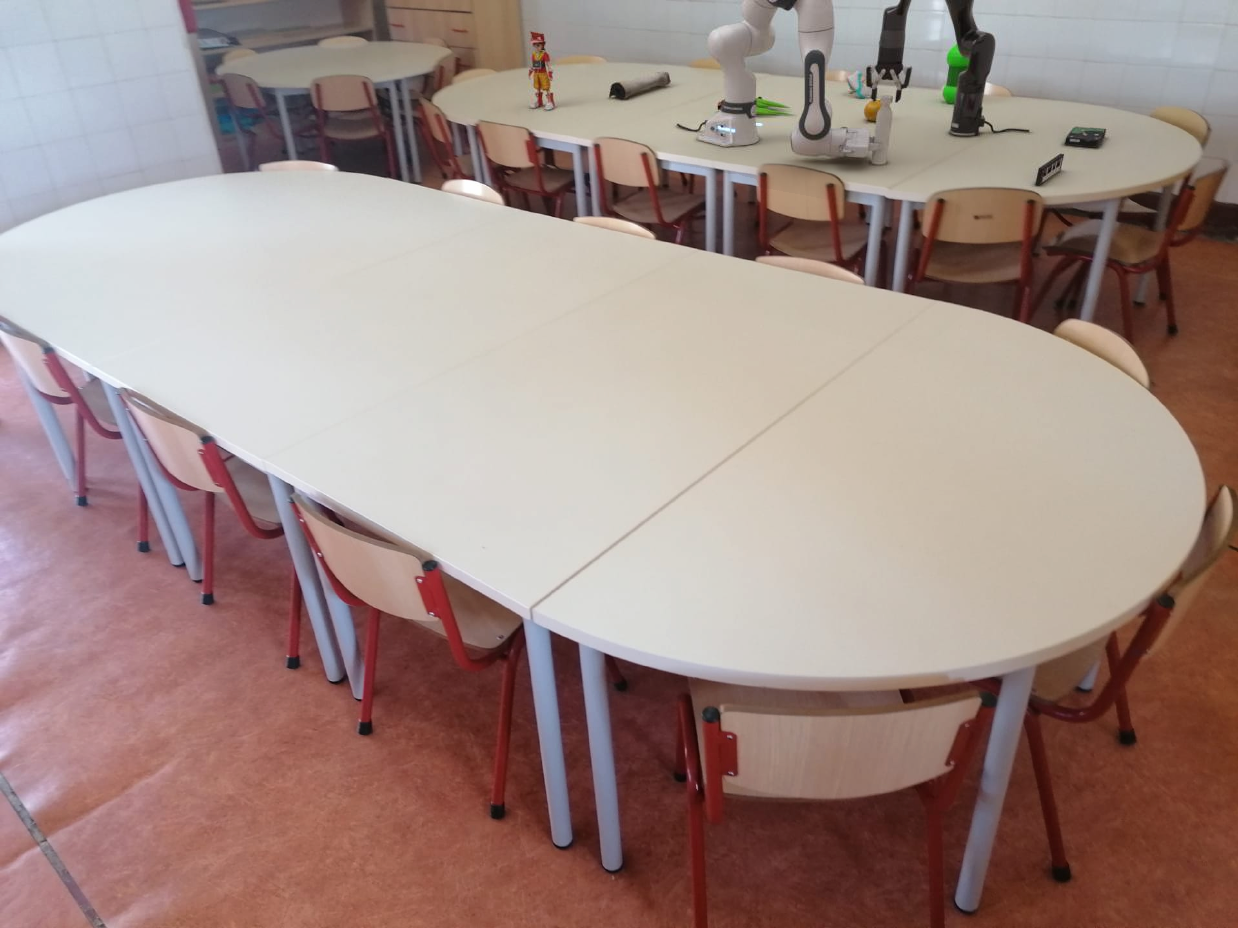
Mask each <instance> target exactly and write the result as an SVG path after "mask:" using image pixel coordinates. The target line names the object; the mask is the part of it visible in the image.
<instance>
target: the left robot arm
mask: <svg viewBox="0 0 1238 928" xmlns="http://www.w3.org/2000/svg"><path fill="white" fill-rule="evenodd" d="M778 8H779V9H782V10H784V11H786V12H789V11H791V10H792V9H794V10H795V12H796V14H797V36H798V45H799V52H800V57H801V58H800V59H801V62H802V68H803V75H804V105H803V106H804V107H803V110H802V113H801V116H800V117H799V120H798V122H797V124H796V125H795V127H794V128H793V130H791V132H790V148H791V151H792V152H793V153H794V154H795V155H797V156H800V157H801V156H802V157H814V158H815V157H817V158H818V157H823V156H824V157H828V158H845V156H846V157H851V158H867V157H868V156H869V152H872V151H874V150H882V149H883V147H884V144H883V143H877V144H873V142H874V135H871V130H869V129H866V128H853V127H850V128H849V127H848V126H840V127H839V128H838V127H837V128H831V127H832V119H833V107H832V104H831V103H830V101H829V100H828V99H826V73H827V68H828V64H829V61H830V58H831V55H832V52H833V46H834V40H835V14H834V5H833V0H743V1H742V3H741V7H740V10H741V16H742V18H743V21H741V22H738V23H732V24H725V25H722V26H719V27H717V28H715V29H713V30H711V32H710V33H709V35H708V37H707V42H706V46H707V47H706V48H707V51H708V54H709V55H710V57H711V58H712V59H713V60H714V61H716V63H718V65H719V67H720V69H721V72H722V74H723V83H724V87H723V88H724V99H722V100H721V101H719V102H718V103H720V104H719V105H718V104H717V107H718V106H720V105H721V108H720V110H717V112H716V113H715V114H713V115H712V116H711V117H709V118H708V119H706V120H704V121H703V122H701V123H700V125H699V127H698V128H695V129H692V128H690V127H687V126H683V125H681V124H680V123H676V126H677V127H678V128H680V129H682V130H686V131H688V132H689V131H690V132H700V131H701V129H702V126H704V129H703V130H704V131H703V132H702V133H700V134H699V135H698V137H697V140H698V141H700V142H704V143H708V144H712V145H717V146H721V147H725V148H728V147H733V146H734V147H735V146H738V147H739V146H747V145H748V146H749V145H753V144H756V143H758V142H760V141H759V140H760V137H759V134H758V127H757V126H759V127H760V126H763V123H758V122H757V114H756V112H757V99H756V98H757V76H756V74H755V73H754V72H753V71H752V70H751V69H749V68H747V65H746V61H745V59H746V58H749V57H754V56H760V55H762V54H764V53H766V52H769V51H770V50H771V49H772V48H773V47H774V44H775V42H776V29H775V28H774V26H773V24H772V21H773V18H774V16H775V15H776V13H777V11H778V10H779V9H778Z"/></svg>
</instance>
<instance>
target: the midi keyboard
mask: <svg viewBox="0 0 1238 928" xmlns="http://www.w3.org/2000/svg"><path fill="white" fill-rule="evenodd" d="M1064 157H1065V153H1059V154H1058V155H1056V156H1055V157H1052V159H1051V160H1049V161H1047V162H1045V164H1042V165H1041V166H1039V167H1038V169H1037V175H1036V179H1035V186H1040V185H1042V183H1044V182H1045V181H1047V180H1048V179H1049V178H1051V177H1052V176H1054V175H1055V174H1056V173H1058V172H1060V171H1061V170H1062V165H1063V161H1064Z"/></svg>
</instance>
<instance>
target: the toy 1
mask: <svg viewBox="0 0 1238 928" xmlns="http://www.w3.org/2000/svg"><path fill="white" fill-rule="evenodd" d="M529 33H530V35H531V36H528V37H527V38H528V39H529V40H528V41H527V43H529V44H530V43H531V44H532V48H533V50H534V51H533V52H532V55H531V58H530V59H531V63H530V66H528V74H527V75H528V76H527V77H528V79H529V80H531V75H532V74H533V84H532V85H533V86H532V87H533V88H534V89H535V90H536V92H534V95H535V97H536V100H535V101H533V102H531V105H530V108H531V109H535V108H538V107H542V106H544V101H543V100H544V99H543V95H544V92H546V94H545V97H546V99H547V103H546V104H545V106H544V110H546V111H549V110H553V109H554V107H555V106H556V105H555V99H554V92H551V91H550V90H551V86H552V84H551V82H552V81H553V80H554V77H553V73H554V71H555V70H554V69H552V68H551V63H550V61H551V59H550V58H551V57H550V54H549V53H548V52H547V50H546V48H545V46H546V44H547V41H545V35H544V33H543V32H542V33H539V32H535V31H529Z"/></svg>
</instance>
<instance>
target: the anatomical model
mask: <svg viewBox="0 0 1238 928" xmlns="http://www.w3.org/2000/svg"><path fill="white" fill-rule="evenodd" d="M862 77H863V74H862V72H860V71H859V70H858V69H856V70H854V72H853V74H851V75H848V76H846V82H847V85H848V86H849V90H850V91H853V92H856V94H857V96H858V97H859V98H860V99H866V97H871V94H872V88H870V87H867V86H866V85H864V82H866V77H864V78H862Z"/></svg>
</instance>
